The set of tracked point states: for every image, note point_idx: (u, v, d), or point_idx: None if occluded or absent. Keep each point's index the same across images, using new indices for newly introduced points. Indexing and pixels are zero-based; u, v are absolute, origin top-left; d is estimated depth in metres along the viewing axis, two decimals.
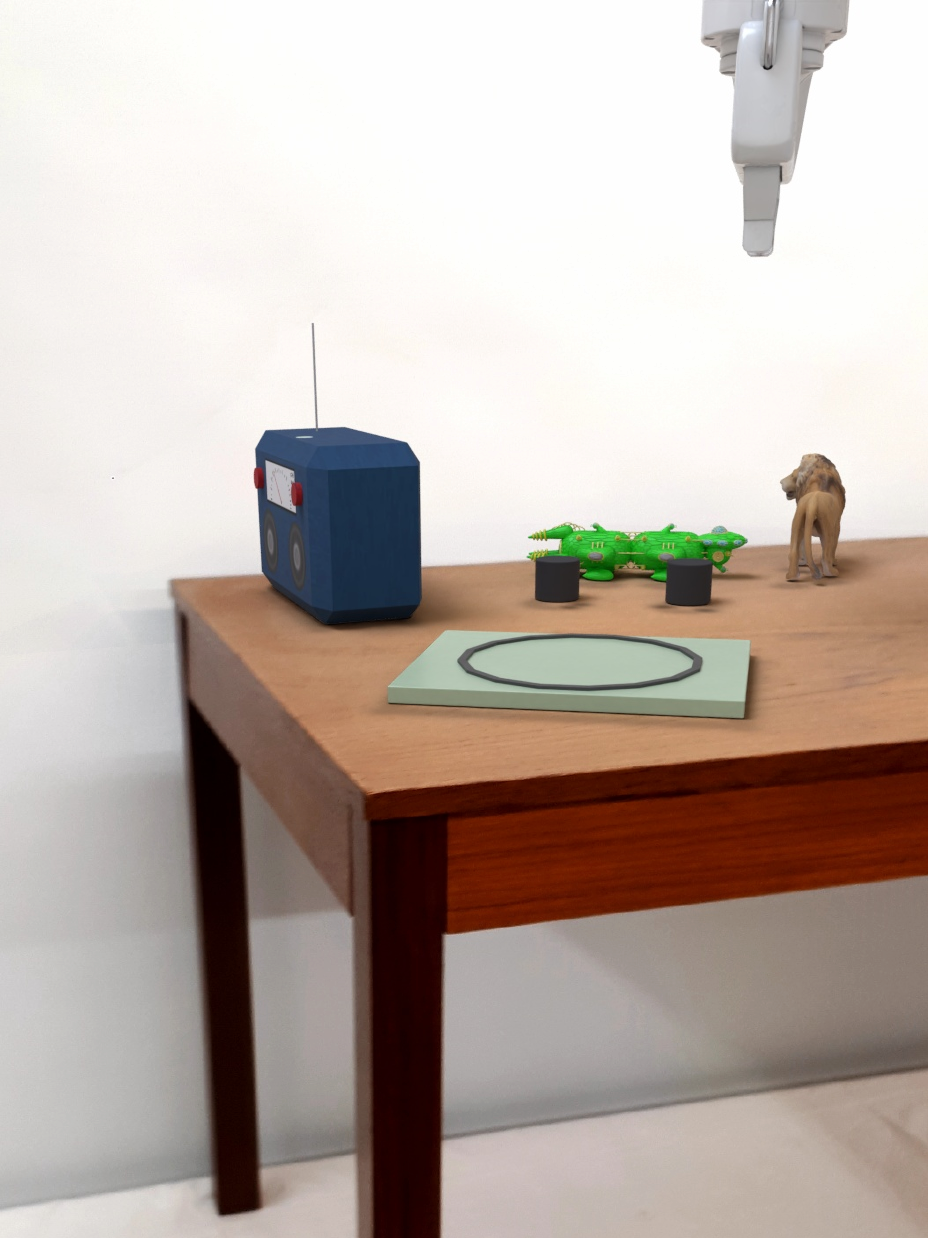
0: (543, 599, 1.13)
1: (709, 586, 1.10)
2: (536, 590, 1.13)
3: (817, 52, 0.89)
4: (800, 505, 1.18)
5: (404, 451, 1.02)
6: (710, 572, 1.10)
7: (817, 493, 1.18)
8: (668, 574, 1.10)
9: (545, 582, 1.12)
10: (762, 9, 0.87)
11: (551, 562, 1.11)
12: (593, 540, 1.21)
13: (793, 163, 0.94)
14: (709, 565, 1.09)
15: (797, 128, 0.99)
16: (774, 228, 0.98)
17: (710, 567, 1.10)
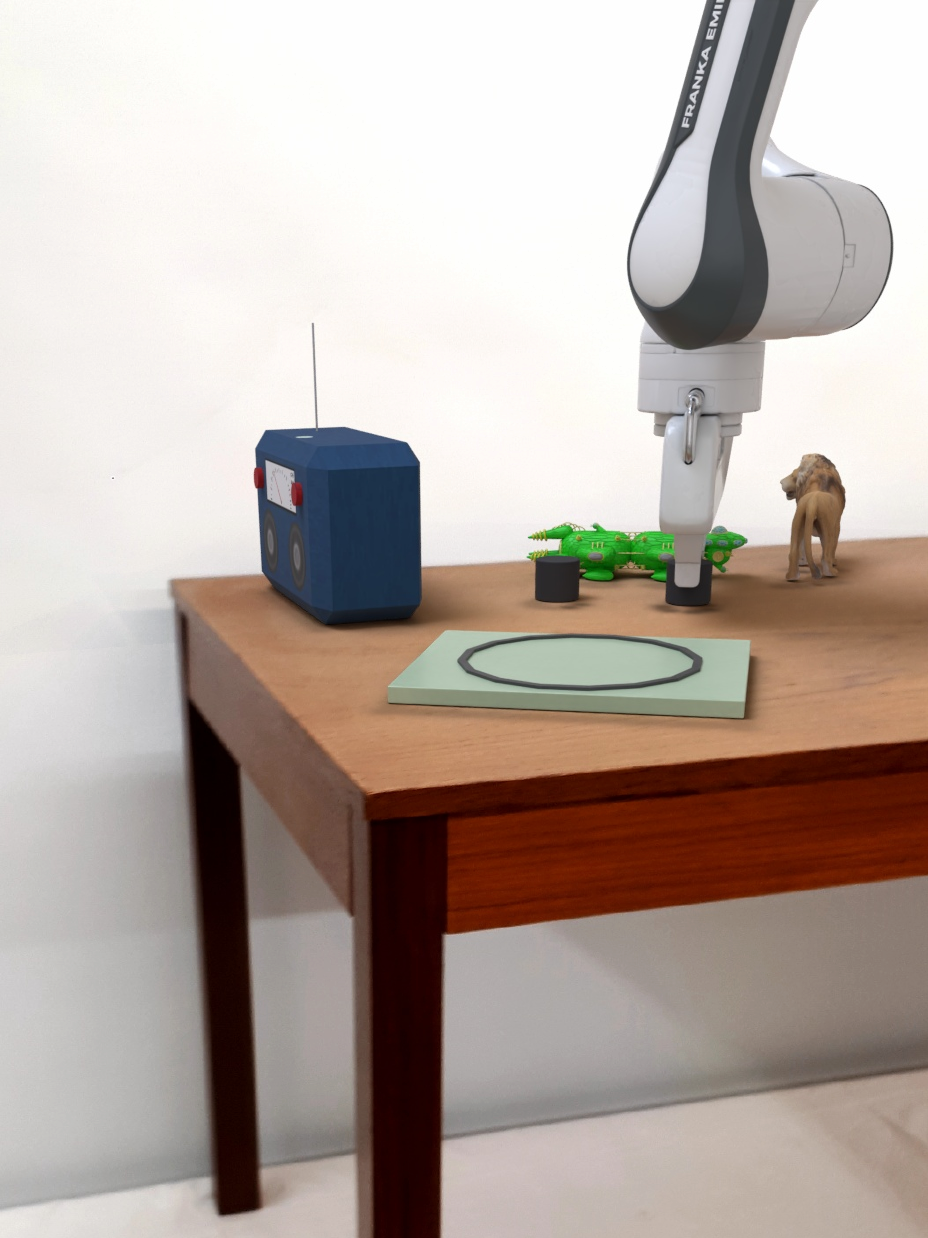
0: (543, 599, 1.13)
1: (709, 586, 1.10)
2: (536, 590, 1.13)
3: (735, 426, 1.05)
4: (800, 505, 1.18)
5: (404, 451, 1.02)
6: (710, 572, 1.10)
7: (817, 493, 1.18)
8: (668, 574, 1.10)
9: (545, 582, 1.12)
10: None
11: (551, 562, 1.11)
12: (593, 540, 1.21)
13: None
14: (709, 566, 1.09)
15: (725, 459, 1.15)
16: (703, 553, 1.12)
17: (710, 567, 1.10)
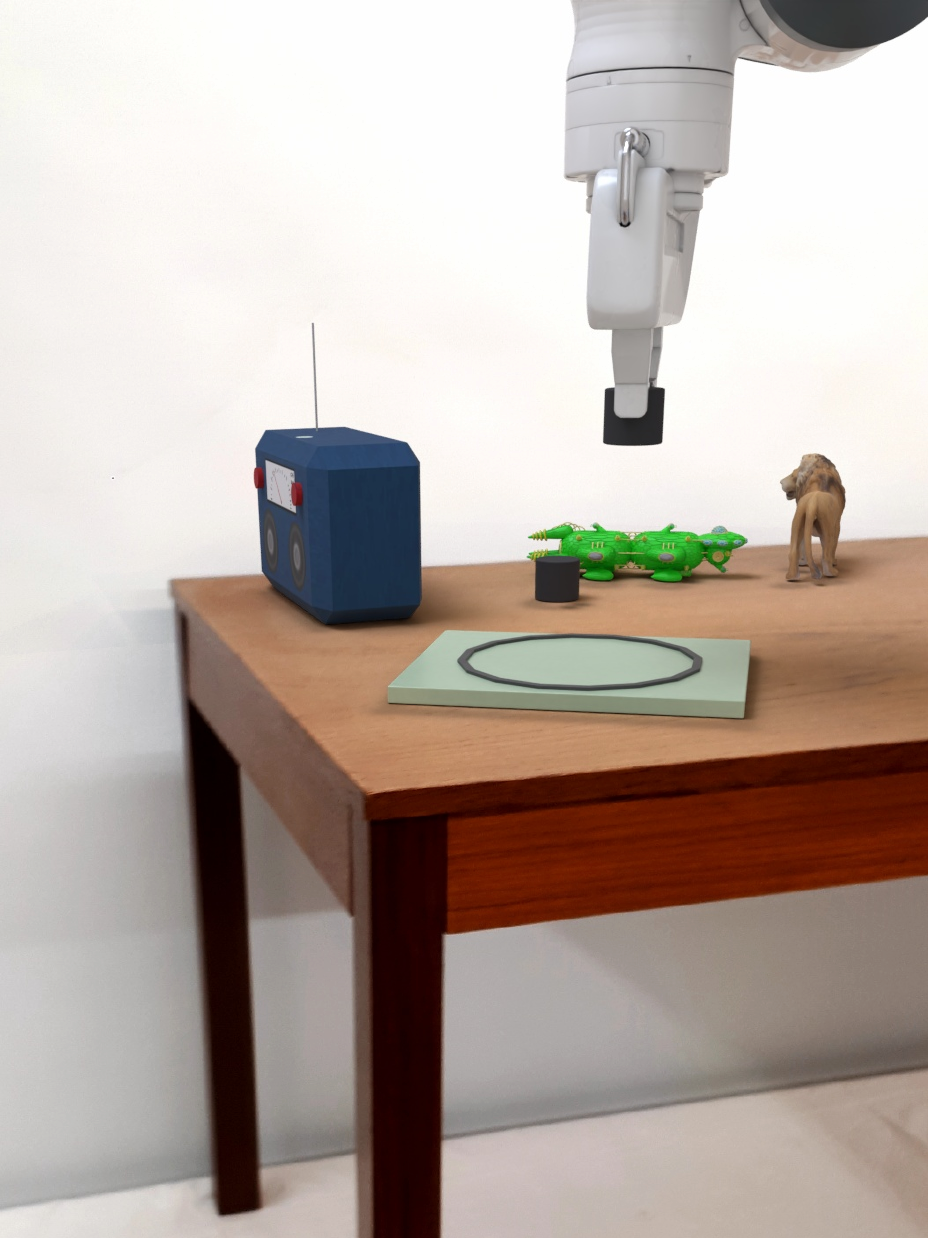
0: (543, 599, 1.13)
1: (660, 420, 0.83)
2: (536, 590, 1.13)
3: (693, 195, 0.78)
4: (800, 505, 1.18)
5: (404, 451, 1.02)
6: (661, 401, 0.83)
7: (817, 493, 1.18)
8: (606, 405, 0.84)
9: (545, 582, 1.12)
10: None
11: (551, 562, 1.11)
12: (593, 540, 1.21)
13: (673, 313, 0.83)
14: (660, 392, 0.83)
15: (686, 264, 0.88)
16: (654, 381, 0.85)
17: (661, 394, 0.83)
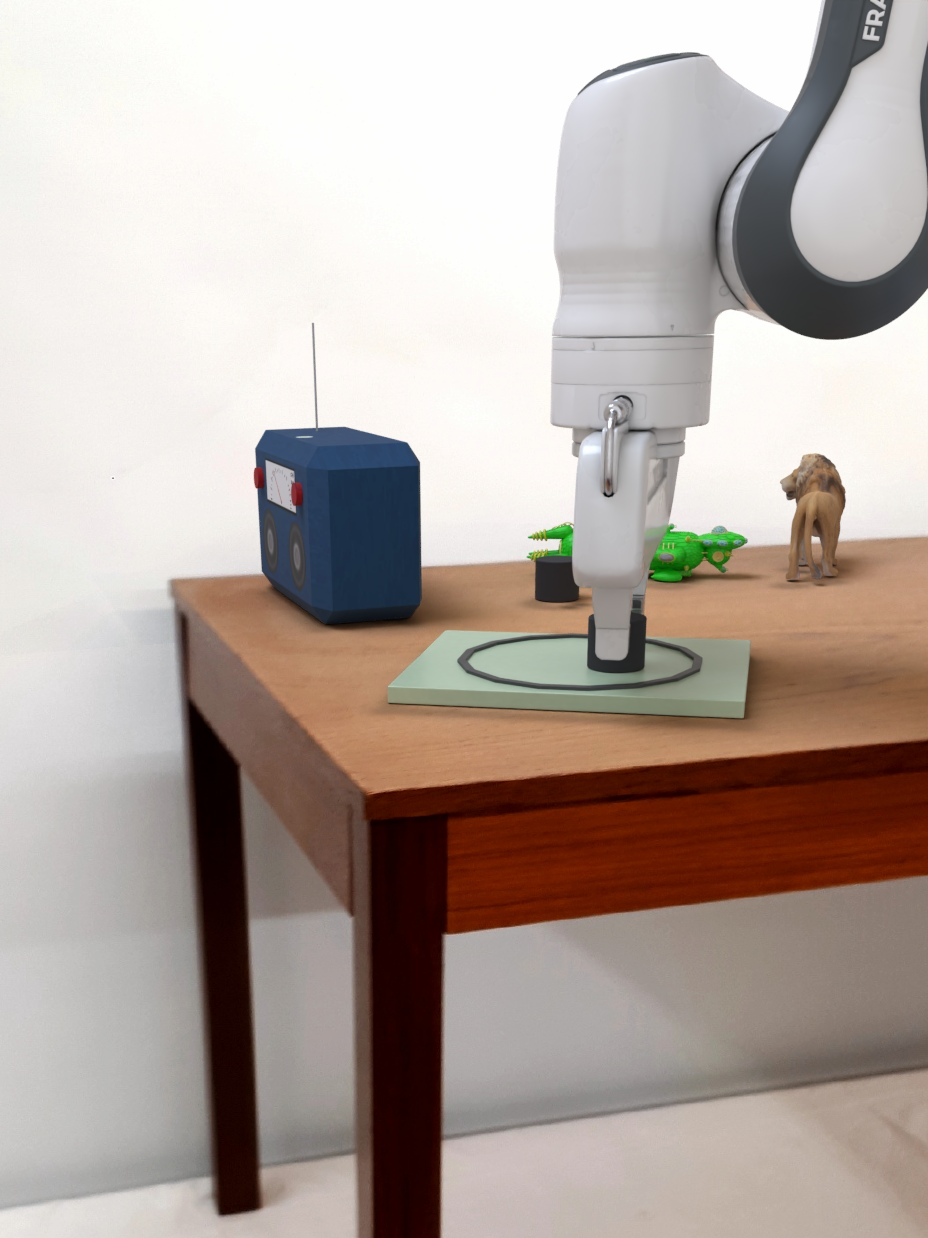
0: (543, 599, 1.13)
1: (642, 648, 0.86)
2: (536, 590, 1.13)
3: (675, 445, 0.81)
4: (800, 505, 1.18)
5: (404, 451, 1.02)
6: (643, 630, 0.86)
7: (817, 493, 1.18)
8: (590, 632, 0.86)
9: (545, 582, 1.12)
10: None
11: (551, 562, 1.11)
12: None
13: (657, 545, 0.85)
14: (642, 622, 0.85)
15: (669, 484, 0.91)
16: (643, 598, 0.90)
17: (642, 624, 0.85)
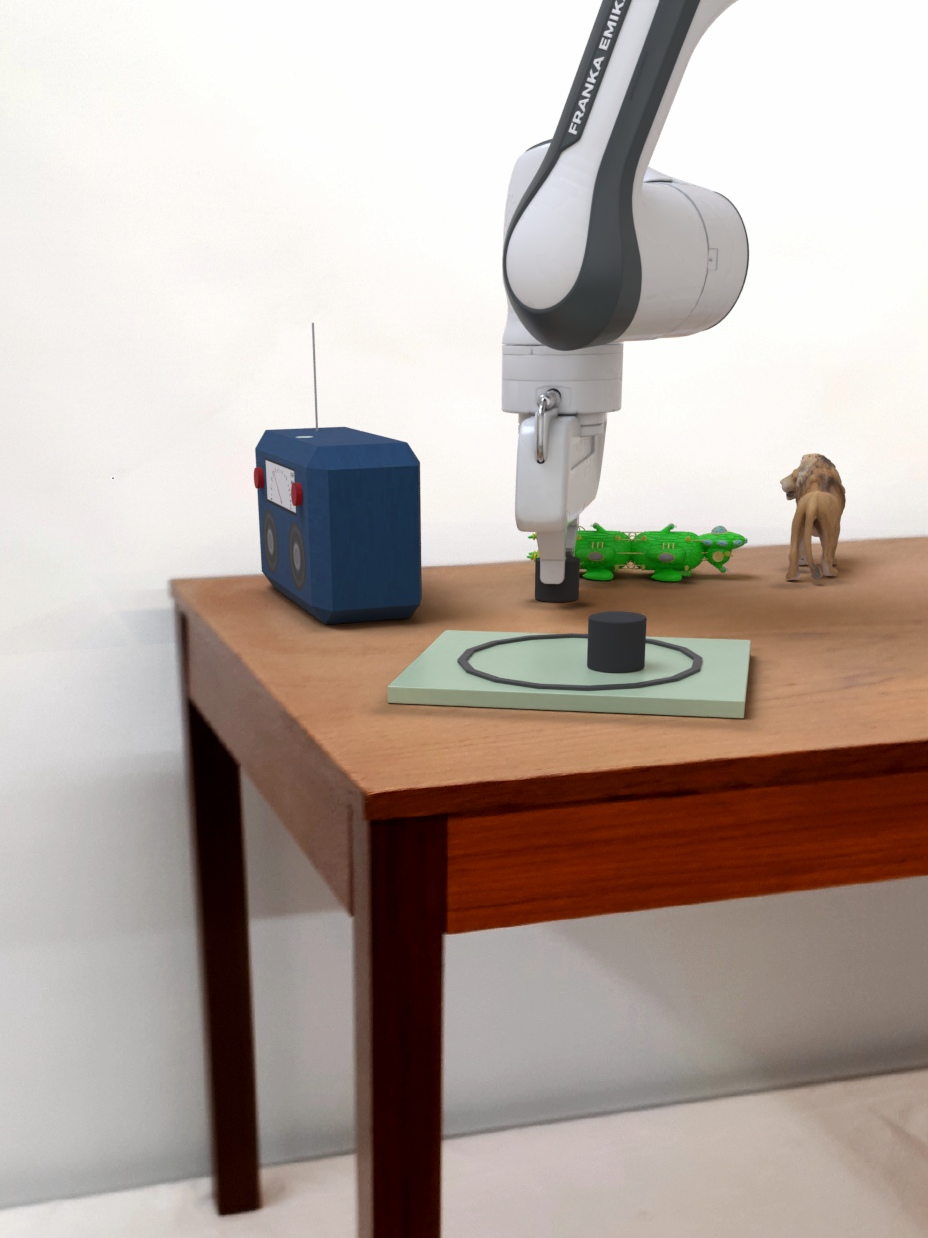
0: (543, 599, 1.13)
1: (642, 648, 0.86)
2: (535, 589, 1.13)
3: (595, 426, 1.07)
4: (800, 505, 1.18)
5: (404, 451, 1.02)
6: (643, 630, 0.86)
7: (817, 493, 1.18)
8: (590, 632, 0.86)
9: None
10: None
11: None
12: (593, 540, 1.21)
13: (584, 504, 1.12)
14: (642, 622, 0.85)
15: (597, 458, 1.17)
16: (572, 551, 1.14)
17: (642, 624, 0.85)
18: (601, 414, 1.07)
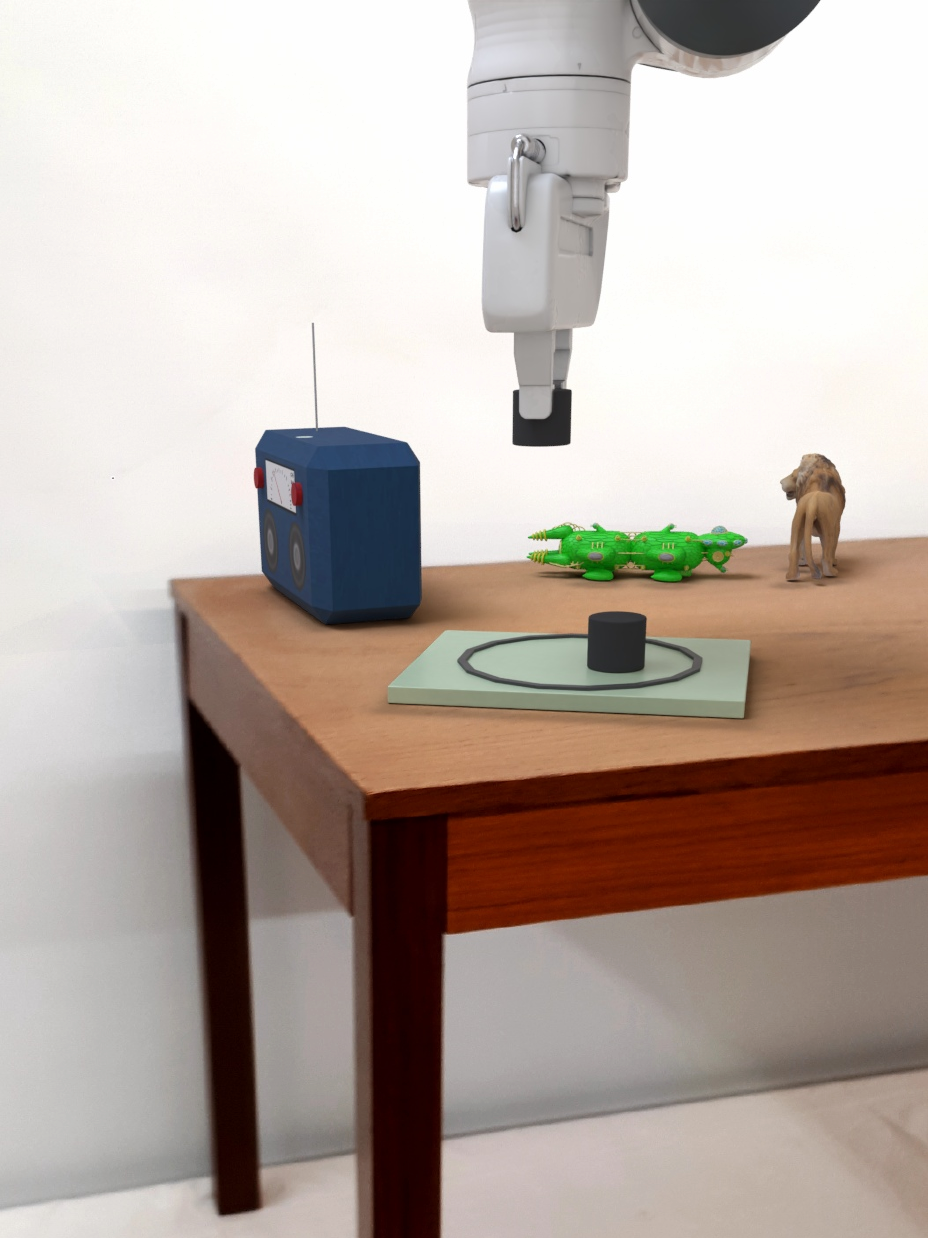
0: (523, 443, 0.85)
1: (642, 648, 0.86)
2: (513, 432, 0.85)
3: (592, 199, 0.79)
4: (800, 505, 1.18)
5: (404, 451, 1.02)
6: (643, 630, 0.86)
7: (817, 493, 1.18)
8: (590, 632, 0.86)
9: (526, 420, 0.84)
10: None
11: None
12: (593, 540, 1.21)
13: (579, 315, 0.84)
14: (642, 622, 0.85)
15: (597, 267, 0.90)
16: (563, 382, 0.86)
17: (642, 624, 0.85)
18: (601, 184, 0.80)
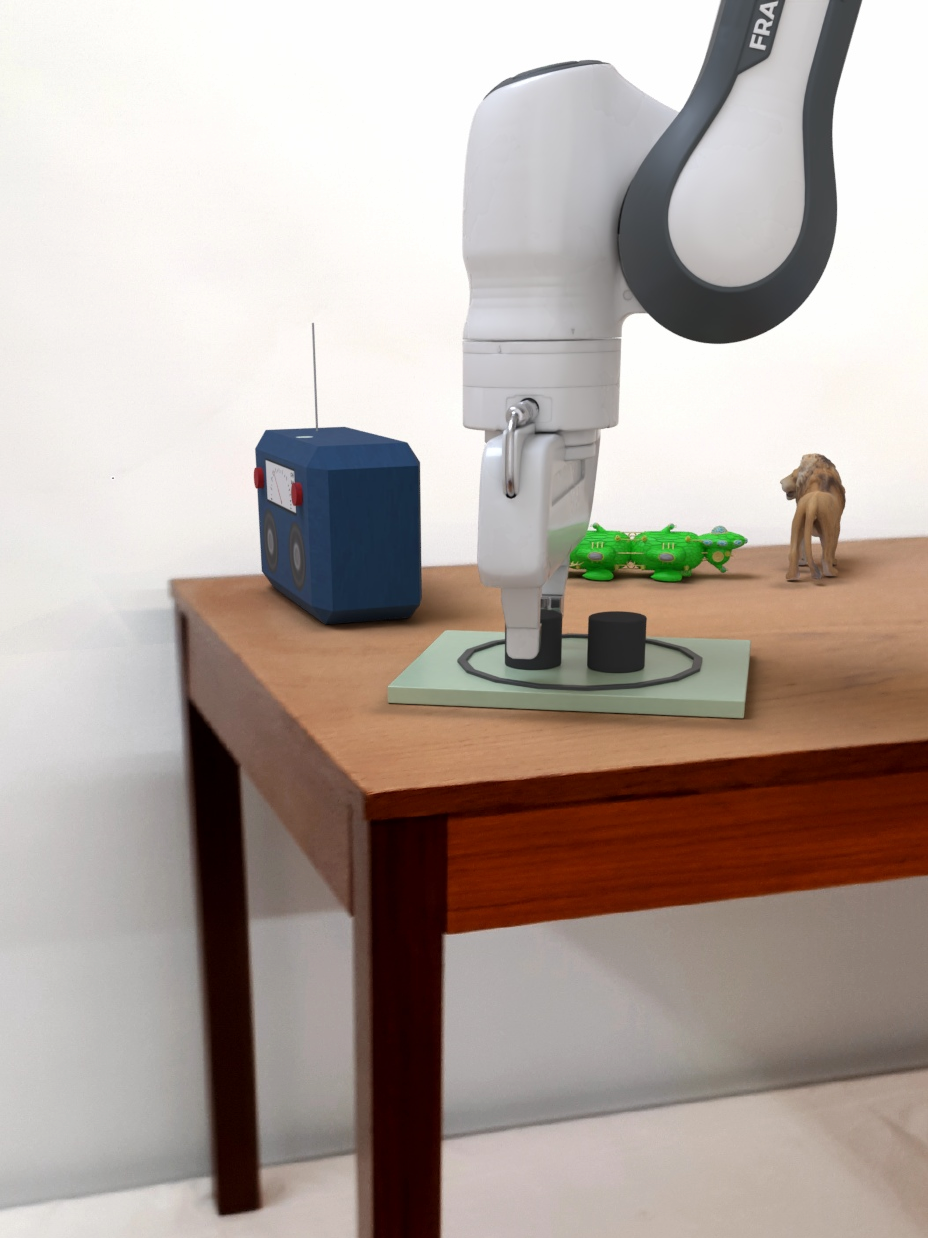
0: (515, 666, 0.87)
1: (642, 648, 0.86)
2: (506, 653, 0.88)
3: (584, 447, 0.82)
4: (800, 505, 1.18)
5: (404, 451, 1.02)
6: (643, 630, 0.86)
7: (817, 493, 1.18)
8: (590, 632, 0.86)
9: None
10: None
11: None
12: (593, 540, 1.21)
13: (571, 546, 0.87)
14: (642, 622, 0.85)
15: (588, 485, 0.92)
16: (561, 598, 0.91)
17: (642, 624, 0.85)
18: (592, 431, 0.82)
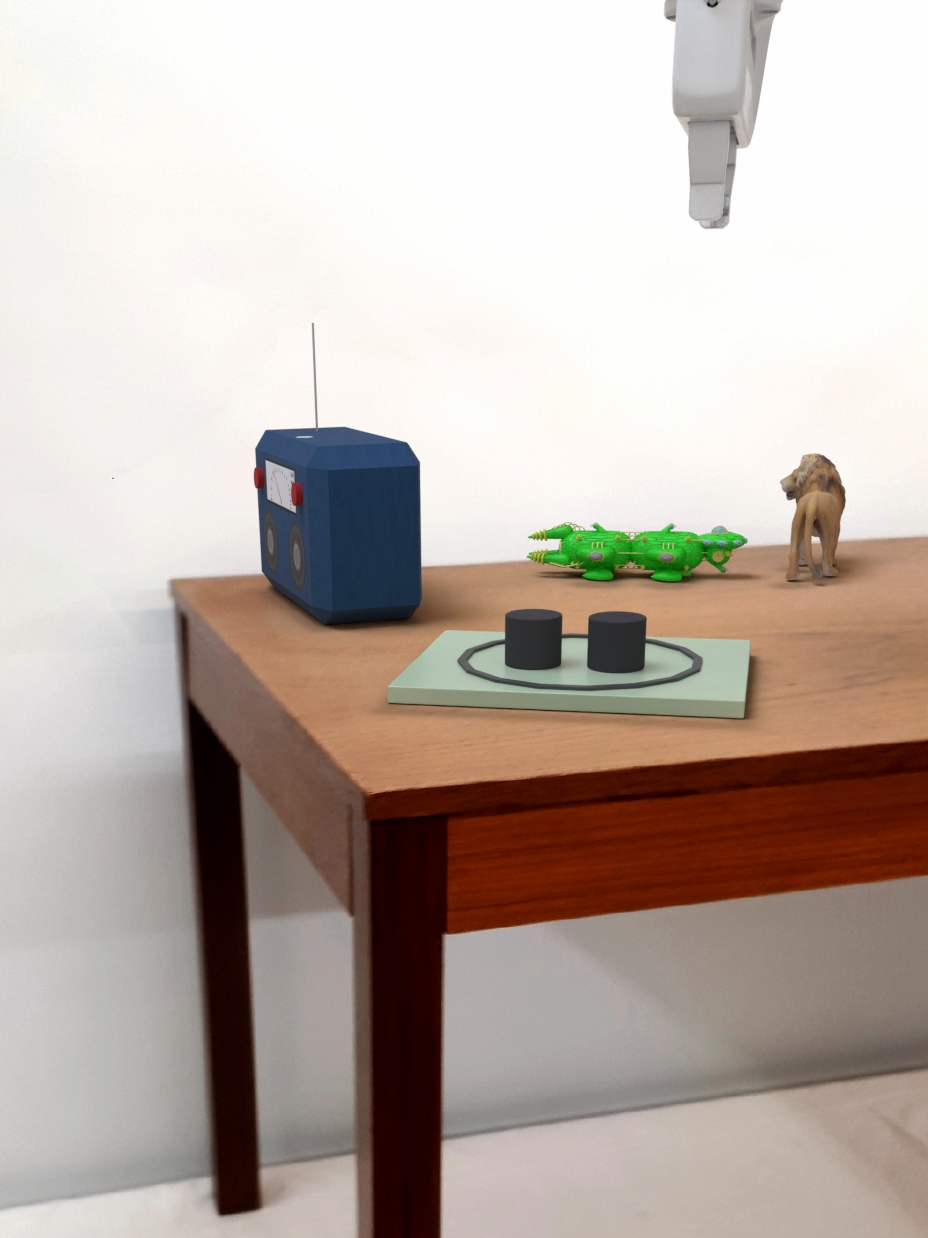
0: (515, 666, 0.87)
1: (642, 648, 0.86)
2: (506, 653, 0.88)
3: None
4: (800, 505, 1.18)
5: (404, 451, 1.02)
6: (643, 630, 0.86)
7: (817, 493, 1.18)
8: (590, 632, 0.86)
9: (517, 645, 0.87)
10: None
11: (525, 619, 0.86)
12: (593, 540, 1.21)
13: (748, 121, 0.83)
14: (642, 622, 0.85)
15: (756, 84, 0.89)
16: (729, 196, 0.88)
17: (642, 624, 0.85)
18: None
